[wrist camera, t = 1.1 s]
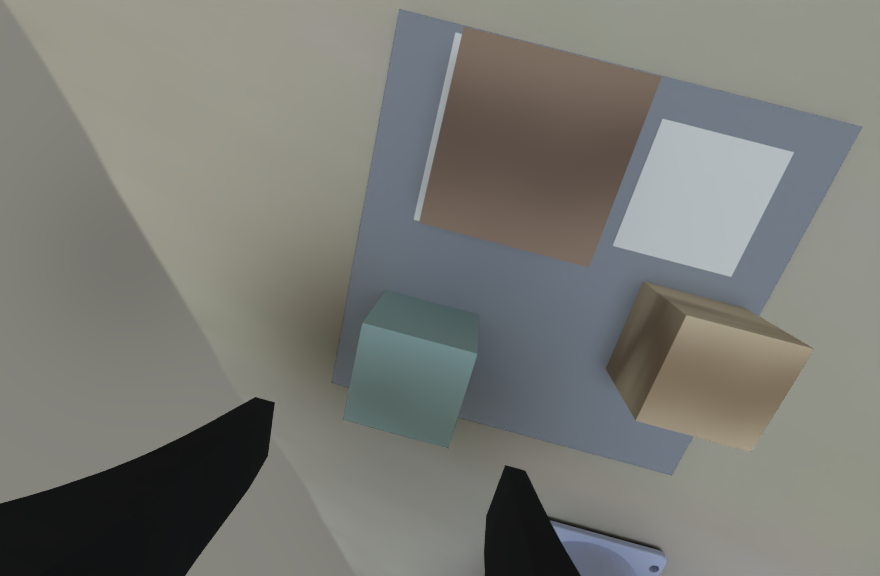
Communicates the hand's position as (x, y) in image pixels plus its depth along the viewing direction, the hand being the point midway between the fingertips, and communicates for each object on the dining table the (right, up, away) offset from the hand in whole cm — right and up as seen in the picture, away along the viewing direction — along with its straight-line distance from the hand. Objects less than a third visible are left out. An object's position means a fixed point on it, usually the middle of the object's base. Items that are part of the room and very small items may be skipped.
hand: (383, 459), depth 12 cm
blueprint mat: (+7, +6, +6) cm, 11 cm away
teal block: (+1, +2, +8) cm, 8 cm away
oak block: (+12, +3, +6) cm, 14 cm away
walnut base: (+5, +11, +4) cm, 13 cm away
